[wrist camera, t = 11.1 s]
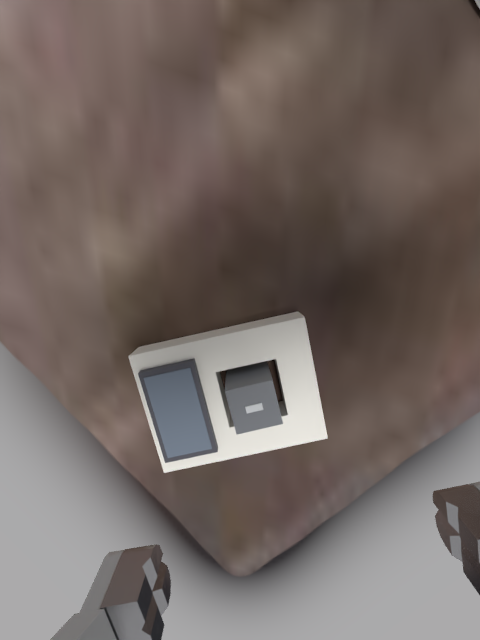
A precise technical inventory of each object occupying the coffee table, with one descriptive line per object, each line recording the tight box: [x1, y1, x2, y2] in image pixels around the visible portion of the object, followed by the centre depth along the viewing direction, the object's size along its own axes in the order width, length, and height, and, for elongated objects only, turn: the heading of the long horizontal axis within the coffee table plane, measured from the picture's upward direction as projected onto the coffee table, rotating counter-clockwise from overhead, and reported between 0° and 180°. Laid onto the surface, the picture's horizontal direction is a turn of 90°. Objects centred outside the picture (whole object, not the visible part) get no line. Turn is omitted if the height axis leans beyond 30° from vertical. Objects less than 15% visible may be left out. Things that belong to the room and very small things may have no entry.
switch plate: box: [128, 311, 327, 473], centre depth 30 cm, size 16×12×4 cm
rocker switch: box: [225, 361, 283, 434], centre depth 29 cm, size 4×4×6 cm
